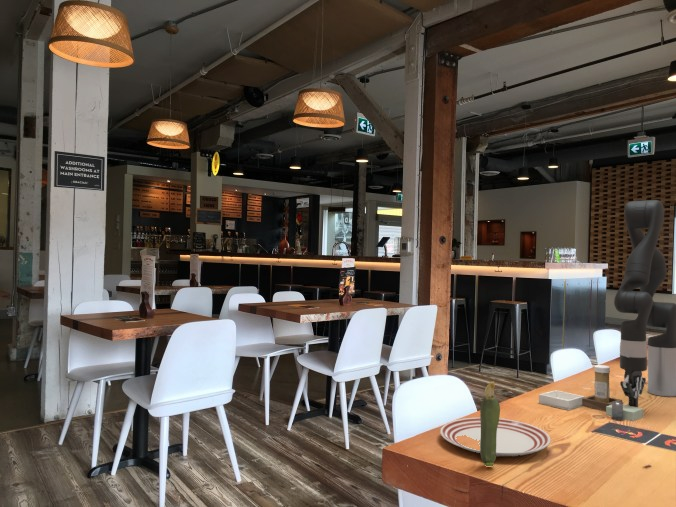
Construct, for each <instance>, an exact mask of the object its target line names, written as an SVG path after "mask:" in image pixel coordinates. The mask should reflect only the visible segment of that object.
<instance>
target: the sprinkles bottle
mask: <svg viewBox="0 0 676 507" xmlns="http://www.w3.org/2000/svg"><path fill="white" fill-rule="evenodd" d="M610 369H611V367H610V366H608V365H603V364H597V365H594V369H593V370H594V395H595V401H600V402H604V403H609V397H610V395H611V394H610V391H611V390H610V373H611V372H610V371H611V370H610ZM610 398H611V397H610Z"/></svg>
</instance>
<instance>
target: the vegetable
mask: <svg viewBox="0 0 676 507" xmlns="http://www.w3.org/2000/svg"><path fill="white" fill-rule="evenodd" d="M495 384H496V382H495V381H494V380H492V381H490V382H489V383H488V384H487V386H486V387H485V389H484V395H485V397H483V398H482V400H481V403H480V406H479V413H480V416H479V417H480V421H481V439H480V453H481V454H480V459H481V461H482V462H483V465H484V466H485V465H486V466H493V465H494V464H495V461H496V459H497V456H496V435H497V427H498V423H499V418H500V415H501V414H500V413H501V406H500V402H499V401H498V399H497V398H496V397H495V389H496V385H495ZM493 467H494V466H493Z"/></svg>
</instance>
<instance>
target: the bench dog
mask: <svg viewBox="0 0 676 507" xmlns="http://www.w3.org/2000/svg"><path fill="white" fill-rule="evenodd" d="M623 404H624V402H623V401H622V402H618V401H613V402H612V416H611V419H612V420H614V421H619V422H620V421H621V422H622V421H624V419H623Z"/></svg>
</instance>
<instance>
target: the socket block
mask: <svg viewBox="0 0 676 507" xmlns="http://www.w3.org/2000/svg"><path fill="white" fill-rule="evenodd" d="M613 401H618V402H622V403H623V399H619V398H614V397H609V403H604V402H600V401H595V394H593V395H592V394H591V395H589V396H585V398H582V406H581V407H585V408H589V409H593V410H596V411H597V410H598V411H602V412H606V406H609V405H612V402H613Z"/></svg>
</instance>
